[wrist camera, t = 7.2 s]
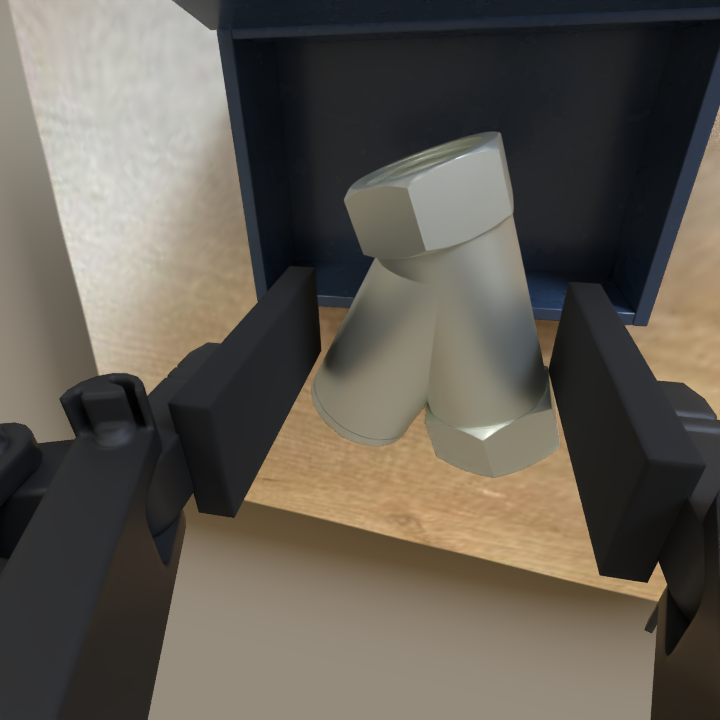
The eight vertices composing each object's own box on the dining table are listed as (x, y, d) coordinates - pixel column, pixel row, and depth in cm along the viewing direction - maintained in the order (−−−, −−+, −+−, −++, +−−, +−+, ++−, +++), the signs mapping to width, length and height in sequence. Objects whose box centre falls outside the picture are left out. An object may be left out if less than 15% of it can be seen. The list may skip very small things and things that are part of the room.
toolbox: (615, 280, 29) (647, 326, 24) (290, 265, 33) (257, 303, 28) (689, 10, 22) (757, -6, 17) (265, 29, 26) (214, 20, 20)
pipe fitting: (361, 411, 18) (553, 387, 15) (328, 490, 15) (563, 478, 12) (270, 202, 14) (500, 121, 11) (200, 247, 11) (495, 150, 8)
